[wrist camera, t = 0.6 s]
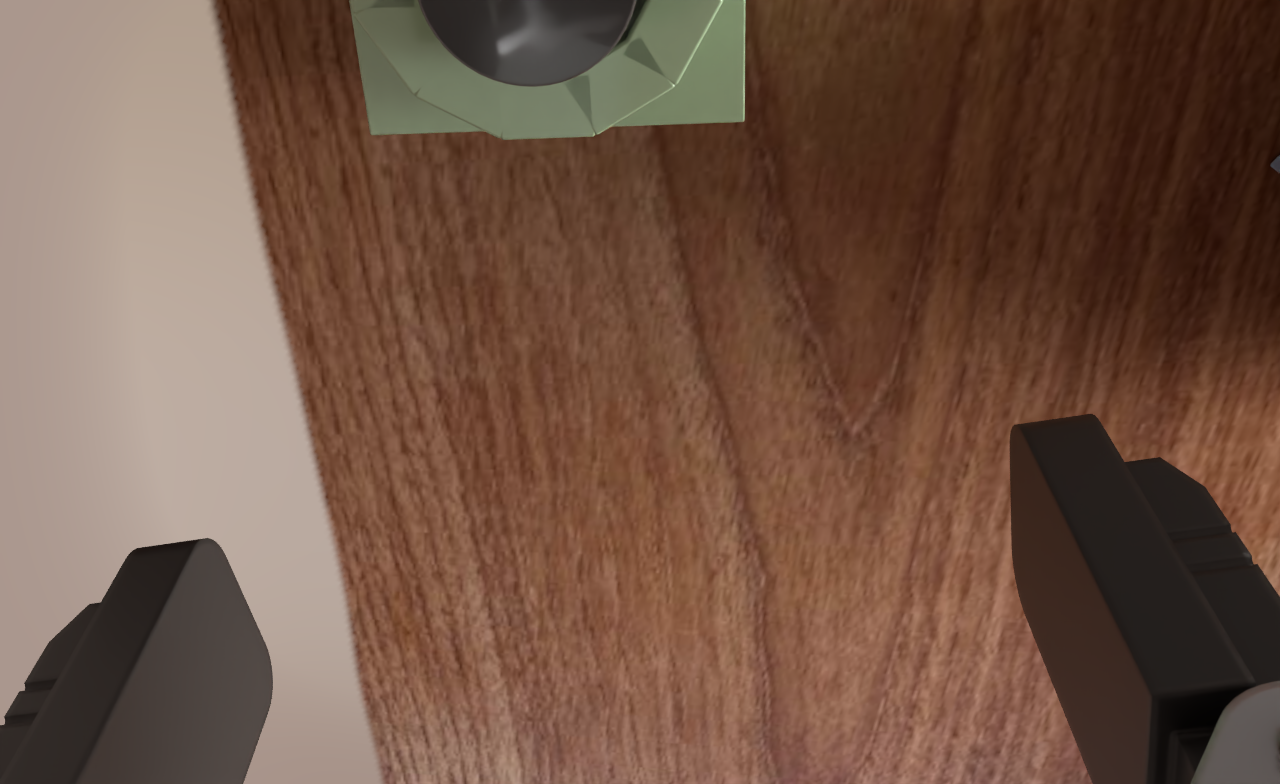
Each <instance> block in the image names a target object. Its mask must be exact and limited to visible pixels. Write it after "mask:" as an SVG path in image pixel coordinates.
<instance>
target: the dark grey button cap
mask: <svg viewBox="0 0 1280 784" xmlns="http://www.w3.org/2000/svg"><path fill="white" fill-rule="evenodd" d="M636 1H637V0H418V3H419V6H420V9H421V11H422V13H423V15H424V17H425V20H426V22H427V24H428V25H429V27H430V28H431V30H432V32H433V33H434V35H435V36H436V38H437V39H438V40H439V41H440V43H441V44H442V45H443V46H444V47H445V48H446V49H447V50H448V51H449V52H450V53H451V54H452V55H453V56H454V57H455V58H456V59H457V60H459V61H460V62H461V63H463V64H464V65H465V66H466V67H468V68H470V69H471V70H473V71H475V72H476V73H478V74H480V75H482V76H485V77H487V78H489V79H492V80H494V81H498V82H501V83H505V84H509V85H515V86H525V87H538V86H548V85H553V84H557V83H561V82H565V81H567V80H570V79H572V78H575V77H577V76H579V75H581V74H583V73H585V72H586V71H588V70H590V69H591V68H592V67H594V66H595V65H597V64H598V63H599V62H600V61H602V60H603V59H604V58H605V57H606V56H607V55H608V54H609V53H610V52H611V51H612V49H613V48H614V47H615V46H616V44H617V43H618V42H619V40H620V39H621V37H622V35H623V34H624V32H625V30H626V29H627V27H628V24H629V22H630V20H631V17H632V15H633V12H634V8H635V5H636Z"/></svg>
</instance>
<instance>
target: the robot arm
mask: <svg viewBox="0 0 1280 784" xmlns="http://www.w3.org/2000/svg"><path fill="white" fill-rule="evenodd" d="M1010 484H1011V535H1012V558H1013V566H1014V573H1015V579H1016V584H1017V589H1018V593H1019V597H1020V601H1021V604H1022V607H1023V610H1024V613H1025V616H1026V618H1027V621H1028V623H1029V626H1030V628H1031V631H1032V633H1033V636H1034V638H1035V641H1036V643H1037V646H1038V648H1039V651H1040V653H1041V656H1042V658H1043V661H1044V663H1045V666H1046V668H1047V671H1048V673H1049V676H1050V678H1051V681H1052V683H1053V686H1054V688H1055V691H1056V693H1057V696H1058V698H1059V701H1060V703H1061V706H1062V708H1063V711H1064V713H1065V716H1066V718H1067V721H1068V723H1069V726H1070V728H1071V731H1072V733H1073V736H1074V738H1075V741H1076V743H1077V746H1078V748H1079V751H1080V753H1081V756H1082V758H1083V761H1084V763H1085V766H1086V768H1087V771H1088V773H1089V775H1090V778H1091V780H1092V783H1093V784H1280V597H1279V595H1278V594H1277V592H1276V591H1275V589H1274V588H1273V587H1272V585H1271V584H1270V582H1269V581H1268V579H1267V578H1266V576H1265V575H1264V573H1263V572H1262V570H1261V569H1260V567H1259V566H1258V564H1255V565H1254V564H1253V562H1252V556H1251V554H1250V553H1249V551H1248V550H1247V548H1246V547H1245V545H1244V544H1243V542H1242V541H1241V539H1240V538H1239V536H1238V535H1237V533H1236V532H1234V533H1232V531H1231V525H1230V523H1229V522H1228V520H1227V519H1226V517H1225V516H1224V514H1223V513H1222V511H1221V510H1220V508H1219V507H1218V505H1217V504H1216V503H1215V501H1214V500H1213V498H1212V497H1211V495H1210V494H1209V492H1208V491H1207V489H1206V488H1205V487H1204V486H1203V485H1201V484H1200V483H1198V482H1197V481H1195V480H1194V479H1192V478H1191V477H1189V476H1188V475H1186V474H1185V473H1183V472H1181V471H1180V470H1178V469H1177V468H1175V467H1174V466H1172V465H1171V464H1169V463H1168V462H1166V461H1165V460H1163V459H1162V458H1160V457H1159V458H1152V459H1144V460H1137V461H1130V462H1124V461H1123V459H1122V457H1121V456H1120V454H1119V452H1118V451H1117V449H1116V447H1115V446H1114V444H1113V442H1112V441H1111V439H1110V437H1109V436H1108V434H1107V432H1106V431H1105V429H1104V427H1103V426H1102V424H1101V422H1100V421H1099V420H1098V418H1097V417H1096V416H1095V415H1093V414H1086V415H1079V416H1072V417H1066V418H1059V419H1052V420H1045V421H1038V422H1031V423H1024V424H1017V425H1014V426H1013V427H1012V429H1011V434H1010ZM24 684H25V691H20V692H19V693H18V695H17V697H16V698H15V700H14V701H13V703H12V705H11V706H10V708H9V710H8V712H7V713H6V715H5V725H0V784H243V782H244V780H245V776H246V774H247V771H248V768H249V765H250V762H251V760H252V757H253V754H254V751H255V748H256V745H257V743H258V740H259V737H260V734H261V731H262V728H263V725H264V723H265V720H266V717H267V714H268V711H269V708H270V704H271V699H272V690H273V678H272V666H271V661H270V656H269V653H268V649H267V647H266V644H265V642H264V640H263V637H262V635H261V633H260V631H259V629H258V627H257V624H256V622H255V620H254V618H253V615H252V613H251V611H250V609H249V606H248V604H247V602H246V600H245V598H244V595H243V593H242V591H241V589H240V586H239V584H238V582H237V580H236V578H235V575H234V573H233V571H232V569H231V566H230V564H229V562H228V560H227V558H226V555H225V554H224V552H223V550H222V549H221V547H220V546H219V545H218V544H217V543H216V542H215V541H214V540H212V539H209V538H205V539H198V540H191V541H184V542H177V543H171V544H163V545H156V546H149V547H142V548H137V549H135V550H133V551H132V552H131V553H130V554H129V555H128V556H127V558H126V559H125V561H124V563H123V565H122V566H121V568H120V570H119V572H118V574H117V575H116V577H115V579H114V580H113V582H112V584H111V586H110V588H109V589H108V591H107V593H106V595H105V596H104V598H103V600H102V602H101V603H95V604H89V605H88V606H87V607H86V608H85V609H84V610H83V611H82V612H81V613H79V615H77V616H76V617H75V618H74V619H73V620H72V621H71V622H70V623H69V624H68V625H67V626H66V627H65V628H64V629H63V630H61V632H60V633H58V634H57V635H56V636H55V637H54V638H53V639H52V640H51V641H50V642H49V643H48V645H47V646H46V648H45V650H44V651H43V653H42V655H41V656H40V658H39V660H38V661H37V663H36V665H35V666H34V668H33V670H32V671H31V673H30V675H29V676H28V678H27V680H26V682H25V683H24Z"/></svg>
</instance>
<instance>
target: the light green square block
mask: <svg viewBox="0 0 1280 784" xmlns="http://www.w3.org/2000/svg"><path fill="white" fill-rule="evenodd" d="M349 3H350V10H351V16H352V22H353V29H354V35H355V41H356V48H357V54H358V60H359V67H360V73H361V79H362V86H363V92H364V98H365V105H366V111H367V117H368V124H369V130H370V134H371V135H395V134H423V133H451V132H479V131H485V132H487V133H489V134H491V135H493V136H495V137H497V138H501V139H503V140H514V139H542V138H570V137H593V136H595V134H596V135H597V134H600V133H602V132H603V131H605V130H607V129H608V128H610V127H618V126H646V125H674V124H702V123H730V122H744V120H745V9H746V0H637V1H636V5H635V8H634V12H633V15H632V17H631V20H630V22H629V24H628V27H627V29H626V30H625V32H624V34H623V35H622V37H621V39H620V40H619V42H618V43H617V44H616V46H615V47H614V48H613V49H612V51H611V52H610V53H609V54H608V55H607V56H606V57H605V58H604V59H603V60H602V61H600V62H599V63H598V64H597V65H595V66H594V67H592V68H591V69H590V70H588V71H586V72H585V73H583V74H581V75H579V76H577V77H575V78H572V79H570V80H567V81H565V82H561V83H557V84H553V85H548V86H538V87H525V86H515V85H509V84H505V83H501V82H498V81H494V80H492V79H489V78H487V77H485V76H482V75H480V74H478V73H476V72H475V71H473V70H471V69H470V68H468V67H466V66H465V65H464V64H463V63H461V62H460V61H459V60H457V59H456V58H455V57H454V56H453V55H452V54H451V53H450V52H449V51H448V50H447V49H446V48H445V47H444V46H443V45H442V44H441V43H440V41H439V40H438V39H437V38H436V36H435V35H434V33H433V32H432V30H431V28H430V27H429V25H428V24H427V22H426V20H425V17H424V15H423V13H422V11H421V9H420V6H419V3H418V0H349Z"/></svg>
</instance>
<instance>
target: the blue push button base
mask: <svg viewBox="0 0 1280 784" xmlns="http://www.w3.org/2000/svg"><path fill="white" fill-rule="evenodd" d="M1270 166H1271V167H1272V168H1273V169H1274V170H1275V171H1277V172H1278V173H1279V174H1280V155H1279V156H1278V157H1277V158H1276V159H1275V160H1274V161H1273V162H1272V163H1271V164H1270Z"/></svg>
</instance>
